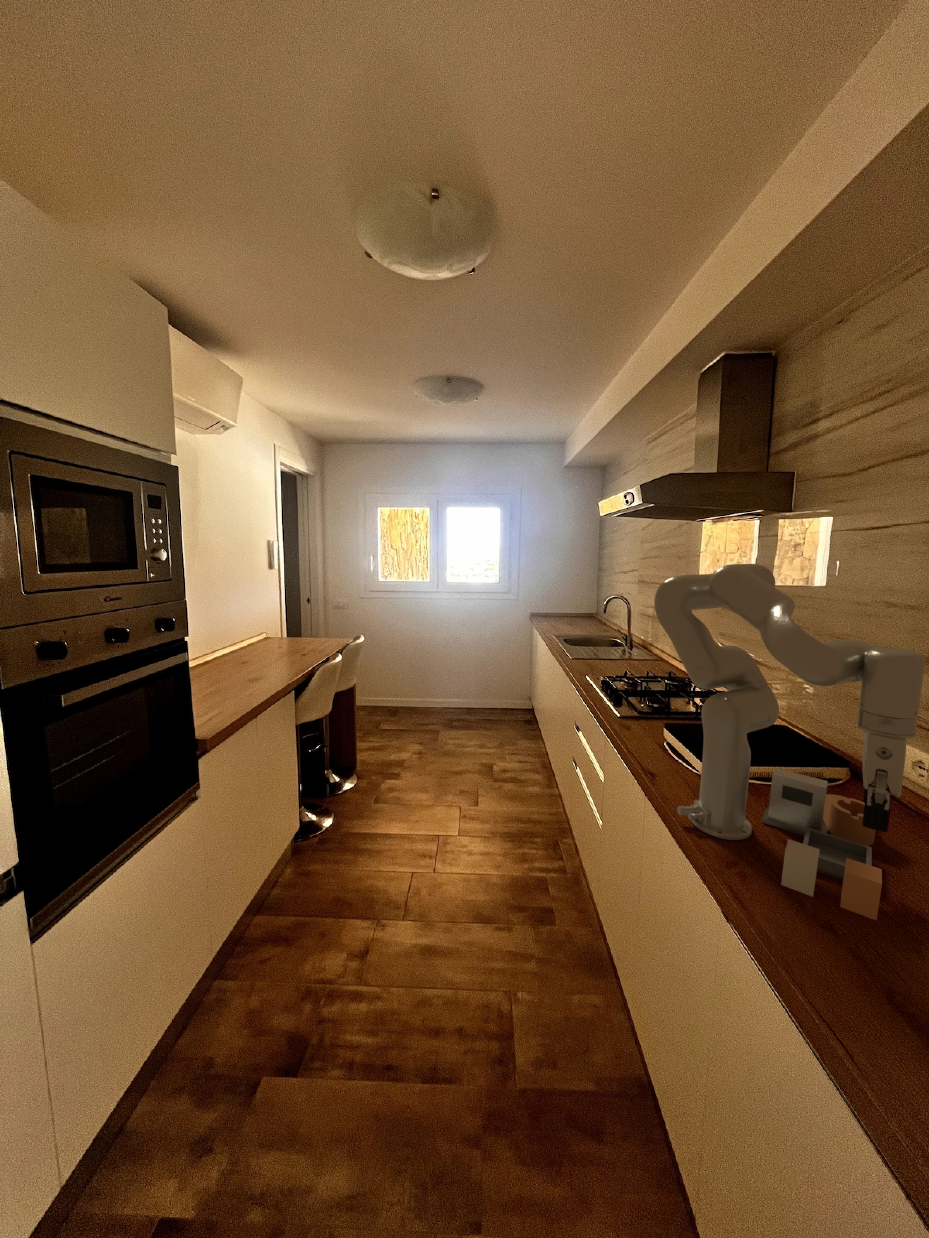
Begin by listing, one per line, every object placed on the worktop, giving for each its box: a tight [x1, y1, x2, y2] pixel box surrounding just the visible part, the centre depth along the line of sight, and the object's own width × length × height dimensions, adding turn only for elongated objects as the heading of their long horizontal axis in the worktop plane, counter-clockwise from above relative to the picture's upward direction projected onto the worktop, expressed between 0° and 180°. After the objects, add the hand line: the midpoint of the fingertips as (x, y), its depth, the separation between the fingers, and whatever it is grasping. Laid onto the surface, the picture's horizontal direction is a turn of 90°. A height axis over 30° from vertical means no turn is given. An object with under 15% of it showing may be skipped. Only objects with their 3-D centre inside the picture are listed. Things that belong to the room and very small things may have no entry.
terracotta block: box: [839, 858, 883, 921], centre depth 88 cm, size 5×5×7 cm
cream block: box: [780, 839, 820, 897], centre depth 93 cm, size 5×5×7 cm
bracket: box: [823, 793, 877, 847], centre depth 113 cm, size 18×8×7 cm, turn 153°
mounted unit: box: [761, 767, 829, 837], centre depth 111 cm, size 12×6×12 cm, turn 51°
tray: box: [802, 828, 873, 881], centre depth 100 cm, size 11×11×3 cm
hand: (874, 816), depth 85 cm, fingers open, 9 cm apart
